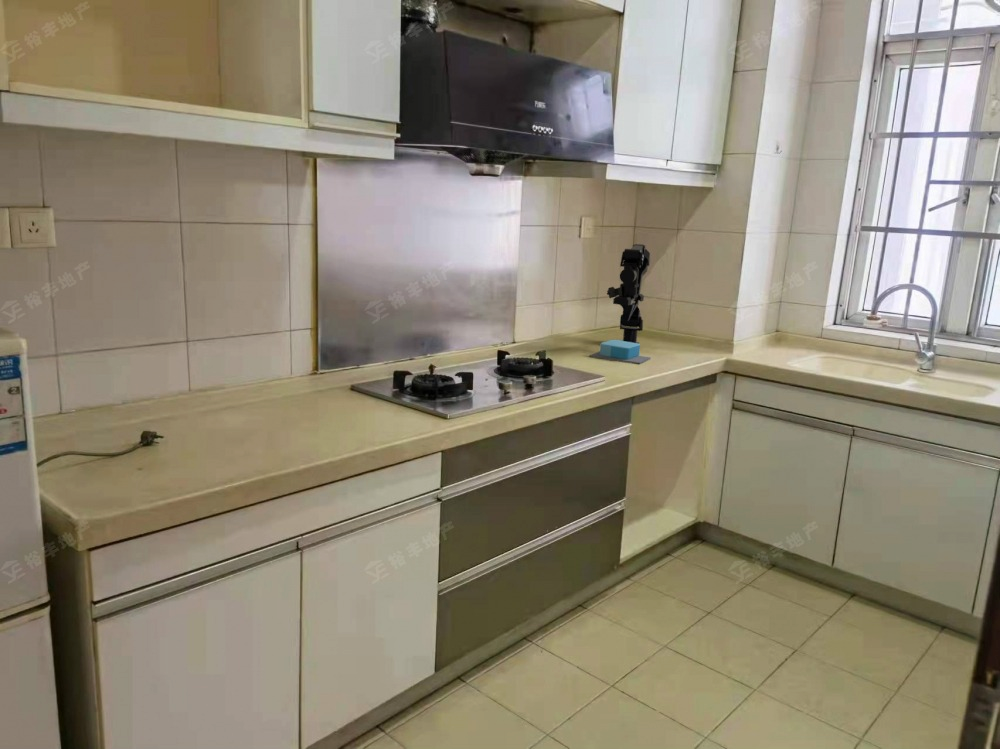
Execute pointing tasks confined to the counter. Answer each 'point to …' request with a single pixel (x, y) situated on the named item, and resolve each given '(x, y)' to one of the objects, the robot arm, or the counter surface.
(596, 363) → the counter surface
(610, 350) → the light blue flat block
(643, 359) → the mat
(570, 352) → the counter surface
